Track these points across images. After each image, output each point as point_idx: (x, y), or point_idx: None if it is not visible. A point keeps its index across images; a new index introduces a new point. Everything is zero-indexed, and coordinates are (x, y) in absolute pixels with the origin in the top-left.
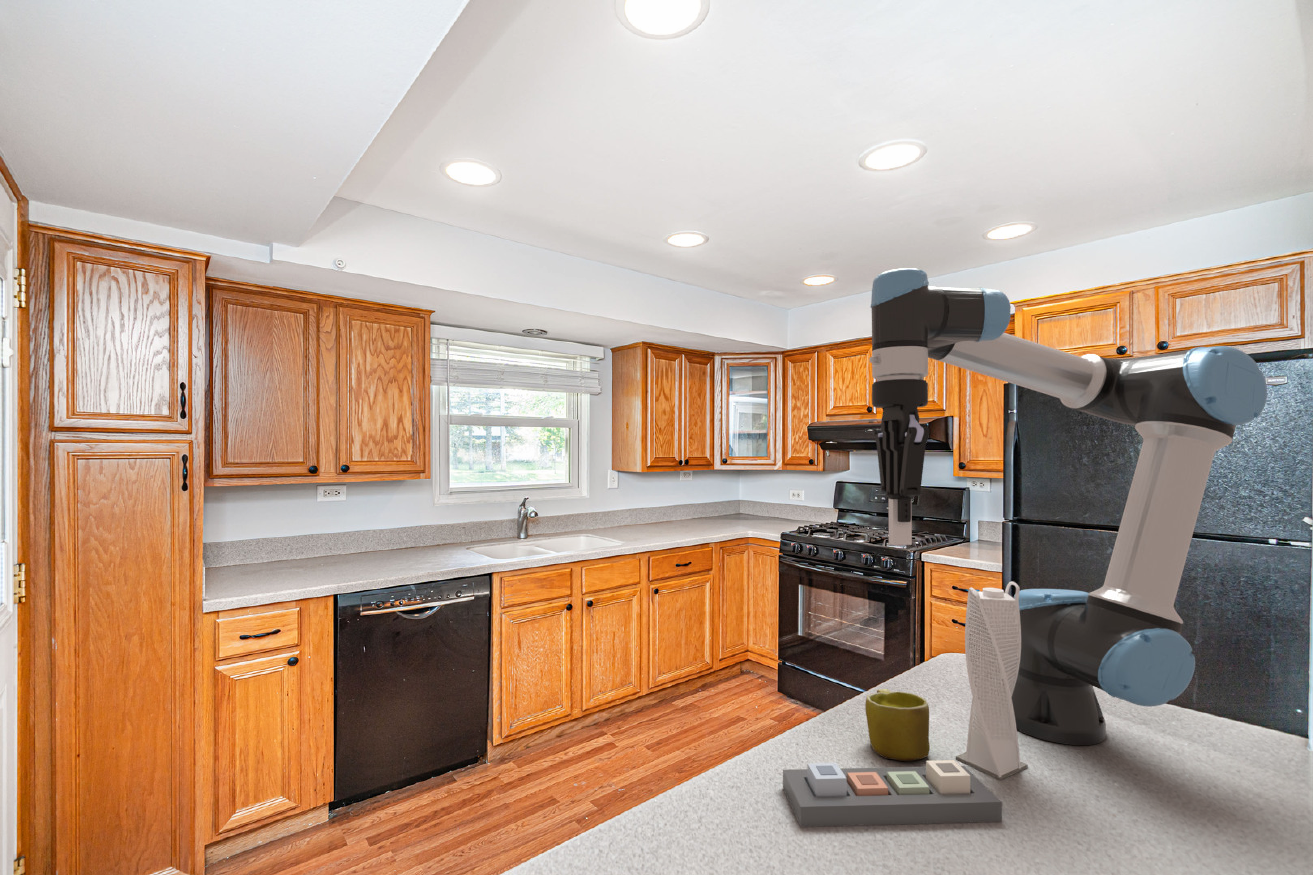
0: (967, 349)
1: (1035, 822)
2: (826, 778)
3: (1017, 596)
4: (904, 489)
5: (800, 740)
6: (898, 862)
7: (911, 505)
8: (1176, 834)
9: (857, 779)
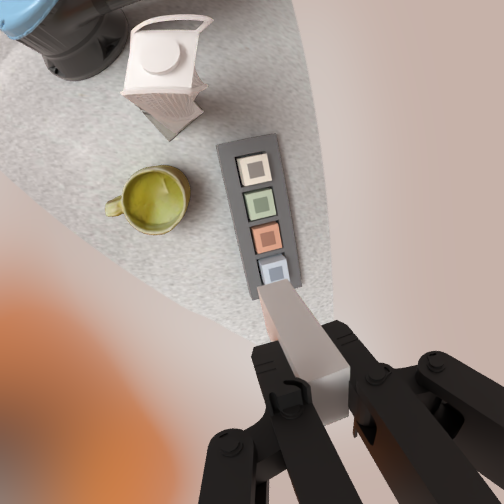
0: None
1: (268, 109)
2: (288, 274)
3: (206, 27)
4: (442, 404)
5: (164, 281)
6: (327, 222)
7: (337, 349)
8: (266, 23)
9: (267, 246)
